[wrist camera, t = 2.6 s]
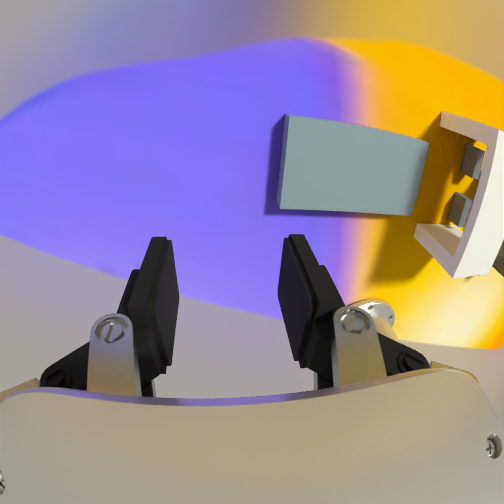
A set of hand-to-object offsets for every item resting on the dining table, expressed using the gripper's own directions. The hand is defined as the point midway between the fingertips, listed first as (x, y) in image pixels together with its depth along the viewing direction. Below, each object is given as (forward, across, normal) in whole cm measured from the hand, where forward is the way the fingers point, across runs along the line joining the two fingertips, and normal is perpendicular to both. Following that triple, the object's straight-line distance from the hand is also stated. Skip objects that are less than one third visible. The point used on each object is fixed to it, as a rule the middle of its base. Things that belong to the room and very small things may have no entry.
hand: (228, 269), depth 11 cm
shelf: (+17, -28, 0) cm, 33 cm away
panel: (+18, -14, 0) cm, 22 cm away
